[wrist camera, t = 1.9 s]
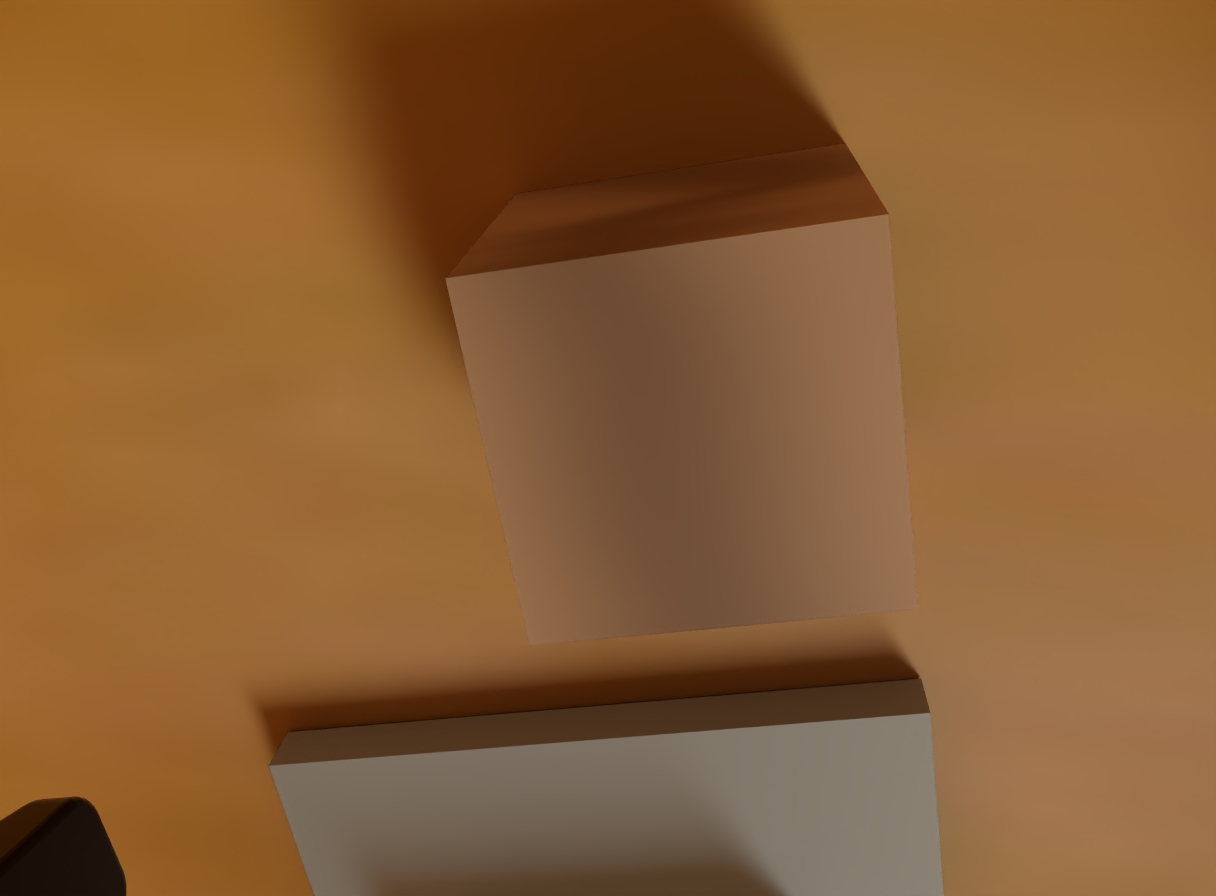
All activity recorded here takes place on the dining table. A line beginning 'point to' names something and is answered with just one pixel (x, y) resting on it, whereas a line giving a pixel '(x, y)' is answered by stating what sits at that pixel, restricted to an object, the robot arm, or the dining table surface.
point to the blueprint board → (627, 799)
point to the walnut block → (693, 398)
